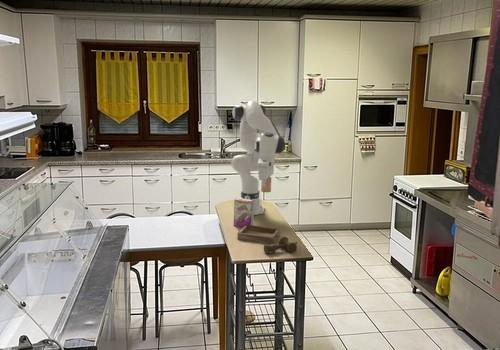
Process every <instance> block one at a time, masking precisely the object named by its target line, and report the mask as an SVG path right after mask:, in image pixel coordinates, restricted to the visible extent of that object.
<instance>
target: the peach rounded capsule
mask: <svg viewBox="0 0 500 350" xmlns="http://www.w3.org/2000/svg"><path fill="white" fill-rule="evenodd" d="M266 183H267V184H266V187H263V182H262V181H261V185H260V186H261V190H260V192H262V193H271V192H272V176H271V177H269V178H268V179H266Z"/></svg>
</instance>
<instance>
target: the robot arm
mask: <svg viewBox="0 0 500 350" xmlns="http://www.w3.org/2000/svg"><path fill="white" fill-rule="evenodd" d="M266 114H267V110H266V107H265V105H262V104H259V102H258V101H255V100H250V101H248V102H247V103H246V104H236V105H234V106H233V108H232V114H231V115H232V118H233V120H234V121H237V122H240V123H239V139H240V140H239V141H240V147H241V148H242V149H243V151H246V152H247V154H238V155H234V156H233V157H232V158H231V160H230V161H231V162H230V164H231V168H232V169H233V170H234V172H236V173H237V174H238V175H239V177H240V181H241V191H240V198H242V199H249V200H254V216H256V215H257V216H258V215H263V214H264V212H265V209H266V207H265V206H264V205H262V204H263V203H262V199H261V198H260V193H261V190H259V186H260V185H259V184H260V181H261V183H262V182H263V187H266V184H267V183H266V179H268V178H269V177H271V178H272V176H273V175H274V173H275V170H274V169H275V167H274V166H275V165H276V164H275V163H276V154H277V155H280V154H282V153H283V152H284V151H285V149H286V141H285V139H284V137H282V136H281V134H280V133H279V131H278V129H277V127H276V125H275V124H274V122H273V121H272V120H271V119H269V118H268V117H267V116H266ZM257 130H259V131H263V132H261V134H260V136H257ZM248 153H249V154H248ZM251 172H258V173H257V174H258V178H257V177H255V176H254V175H251ZM258 179H259V180H258Z"/></svg>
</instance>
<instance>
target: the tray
mask: <svg viewBox="0 0 500 350" xmlns="http://www.w3.org/2000/svg"><path fill="white" fill-rule="evenodd" d="M280 232H281V231H280V228H277V227H270V226H269V227H267V226H260V225H254V224H253V225H245V226H244V227H242V228H241V229H240V230H239V231H238V232H237V235H236V236H237V238H236V239H237V240H241V241H249V242H254V243H255V242H256V243H263V244H268V245H271V244H274V242H275V241H276V240H277V239H278V237H279V236H280Z"/></svg>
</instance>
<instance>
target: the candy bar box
mask: <svg viewBox="0 0 500 350" xmlns="http://www.w3.org/2000/svg"><path fill="white" fill-rule="evenodd" d="M233 206H234V208H233V226H235V227H242V228H243V227H244V226H245V225H254V217H255V215H254V200H249V199H242V198H241V197H237V198H234V205H233Z"/></svg>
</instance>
